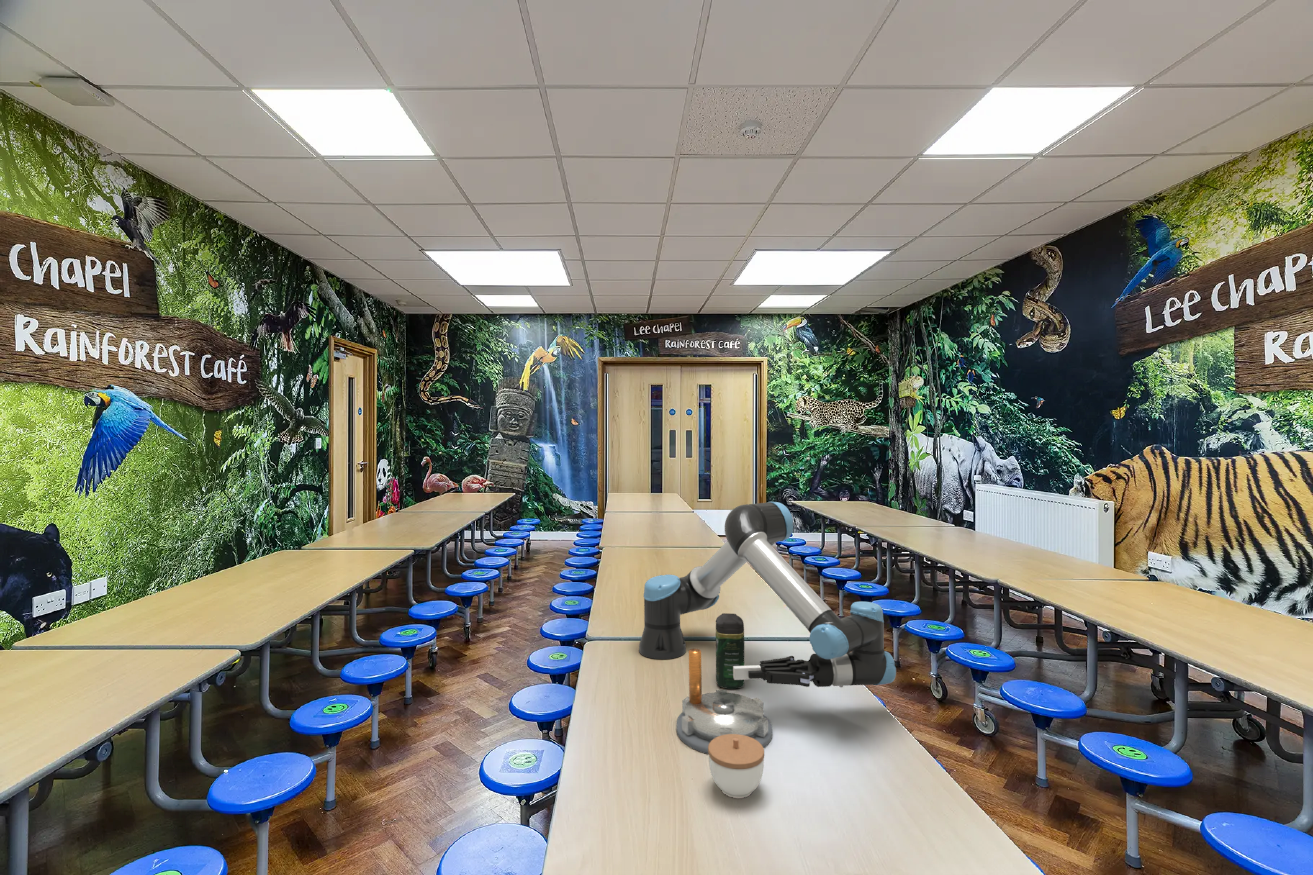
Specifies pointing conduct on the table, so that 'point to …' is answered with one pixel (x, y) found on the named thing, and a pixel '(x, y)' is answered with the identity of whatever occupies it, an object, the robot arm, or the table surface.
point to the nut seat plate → (703, 744)
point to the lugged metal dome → (719, 709)
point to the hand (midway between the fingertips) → (733, 672)
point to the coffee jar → (729, 649)
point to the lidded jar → (736, 764)
